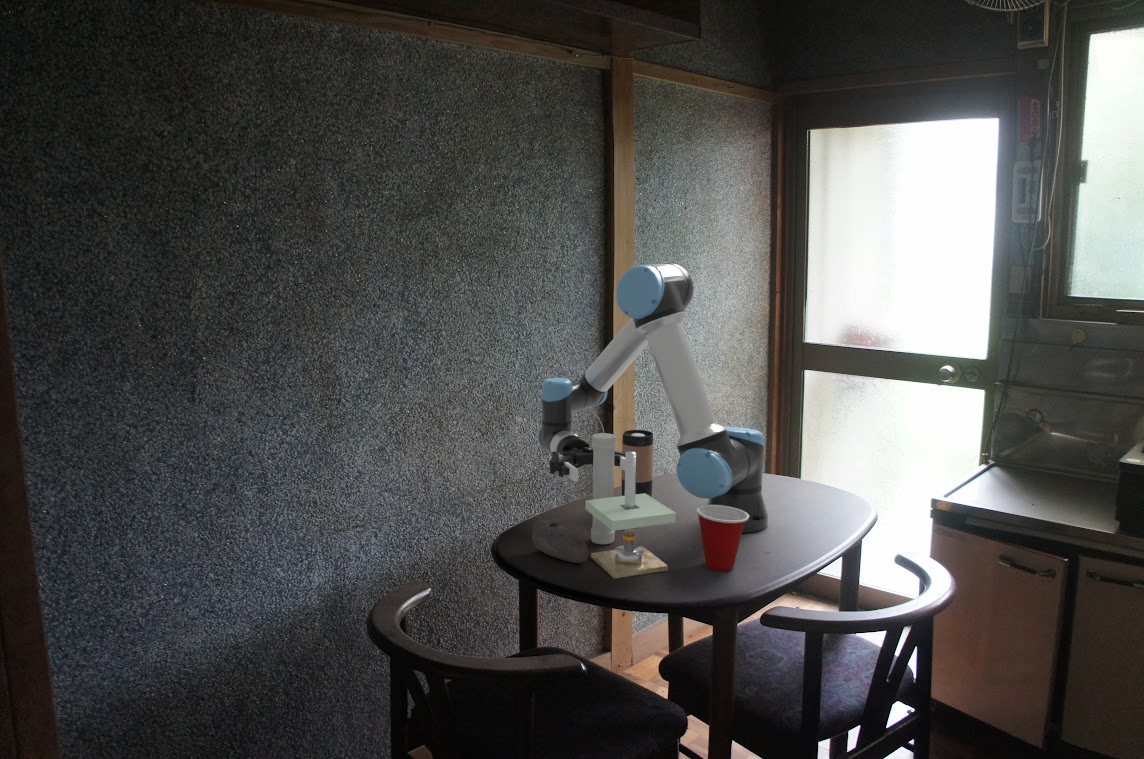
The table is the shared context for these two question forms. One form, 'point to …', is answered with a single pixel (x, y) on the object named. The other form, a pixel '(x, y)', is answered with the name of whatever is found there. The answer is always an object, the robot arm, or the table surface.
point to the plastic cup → (721, 534)
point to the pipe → (602, 480)
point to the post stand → (629, 539)
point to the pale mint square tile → (630, 512)
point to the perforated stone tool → (559, 542)
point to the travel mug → (640, 459)
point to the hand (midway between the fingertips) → (605, 472)
